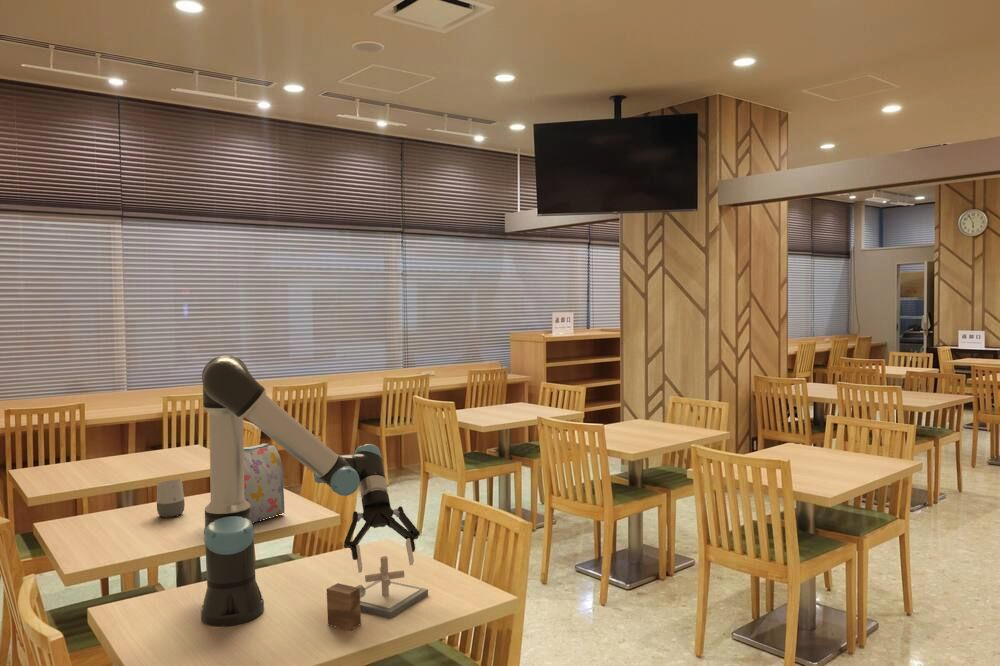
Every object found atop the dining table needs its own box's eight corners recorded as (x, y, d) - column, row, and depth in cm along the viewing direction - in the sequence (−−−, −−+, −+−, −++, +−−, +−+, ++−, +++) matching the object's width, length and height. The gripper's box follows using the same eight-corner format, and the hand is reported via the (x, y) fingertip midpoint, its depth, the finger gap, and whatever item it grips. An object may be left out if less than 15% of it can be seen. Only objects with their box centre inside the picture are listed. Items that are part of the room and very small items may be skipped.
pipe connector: (402, 585, 204) (400, 548, 203) (407, 599, 194) (405, 561, 194) (364, 590, 201) (363, 553, 201) (367, 605, 192) (366, 566, 191)
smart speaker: (179, 510, 288) (178, 473, 287) (188, 515, 281) (187, 477, 280) (153, 515, 281) (151, 478, 280) (162, 520, 274) (160, 482, 274)
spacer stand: (364, 634, 179) (363, 597, 178) (314, 621, 187) (312, 585, 186) (428, 594, 201) (427, 561, 201) (380, 584, 209) (379, 552, 209)
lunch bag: (260, 508, 287) (257, 439, 286) (289, 515, 278) (286, 443, 276) (207, 524, 269) (203, 450, 268) (236, 531, 259) (232, 455, 258)
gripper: (416, 497, 218) (430, 566, 205) (328, 507, 210) (337, 579, 197) (420, 484, 213) (435, 553, 200) (330, 493, 205) (339, 566, 192)
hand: (386, 566), depth 198 cm, fingers open, 13 cm apart
